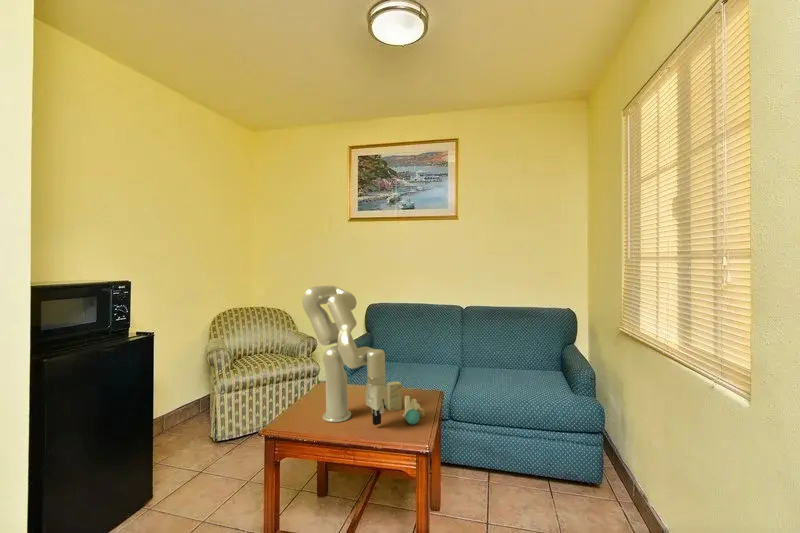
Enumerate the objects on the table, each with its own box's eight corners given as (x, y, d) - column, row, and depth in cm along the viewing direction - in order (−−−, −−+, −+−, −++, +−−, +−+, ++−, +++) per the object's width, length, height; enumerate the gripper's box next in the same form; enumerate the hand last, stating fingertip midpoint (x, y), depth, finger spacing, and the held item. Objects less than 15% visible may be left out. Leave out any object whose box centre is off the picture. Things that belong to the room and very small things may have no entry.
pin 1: (403, 415, 166) (403, 396, 166) (408, 414, 168) (407, 395, 168) (406, 417, 164) (406, 398, 164) (411, 415, 166) (411, 396, 166)
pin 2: (410, 419, 162) (409, 399, 162) (414, 417, 163) (414, 398, 164) (413, 421, 160) (413, 401, 160) (417, 419, 161) (417, 400, 162)
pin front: (401, 413, 163) (416, 402, 167) (403, 418, 163) (417, 406, 167) (404, 415, 161) (419, 404, 165) (406, 420, 161) (421, 408, 165)
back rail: (406, 409, 174) (406, 402, 174) (409, 408, 174) (409, 402, 174) (422, 417, 164) (421, 410, 164) (424, 416, 164) (424, 410, 164)
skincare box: (389, 411, 171) (389, 385, 171) (386, 408, 175) (385, 382, 175) (402, 409, 174) (401, 383, 174) (398, 406, 178) (398, 380, 178)
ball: (410, 416, 162) (404, 406, 160) (422, 414, 160) (417, 405, 157) (407, 428, 157) (401, 418, 155) (420, 426, 155) (414, 417, 152)
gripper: (359, 377, 158) (360, 420, 158) (377, 386, 146) (378, 432, 146) (375, 374, 163) (375, 416, 163) (393, 382, 150) (394, 428, 150)
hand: (376, 423), depth 154 cm, fingers closed
